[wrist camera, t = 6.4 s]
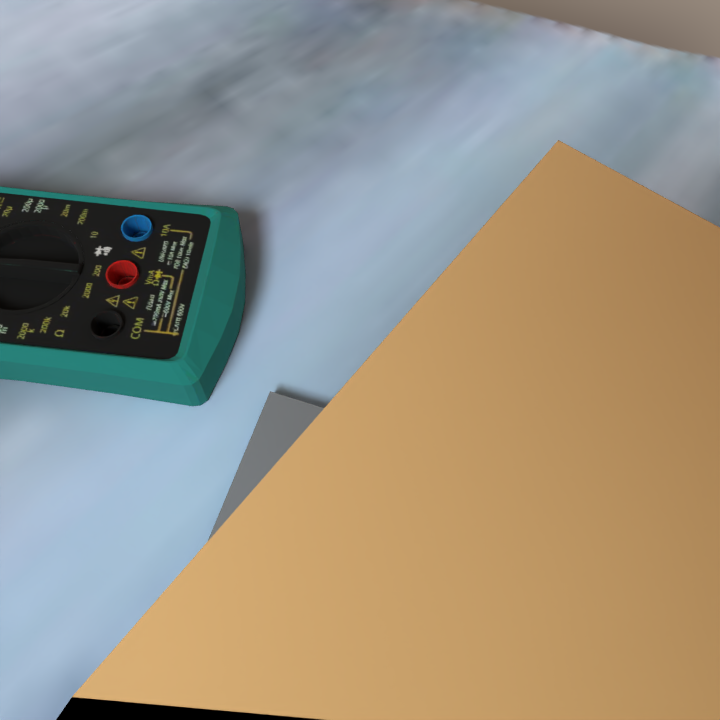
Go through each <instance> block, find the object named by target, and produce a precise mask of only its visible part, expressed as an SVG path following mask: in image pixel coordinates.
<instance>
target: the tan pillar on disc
mask: <svg viewBox="0 0 720 720" xmlns="http://www.w3.org/2000/svg"><path fill="white" fill-rule="evenodd" d="M56 720H720V227H718V226H716V225H714V224H712V223H711V222H709V221H707V220H705V219H703V218H701V217H699V216H698V215H696V214H694V213H692V212H690V211H688V210H686V209H685V208H683V207H681V206H679V205H677V204H675V203H674V202H672V201H670V200H668V199H666V198H664V197H662V196H661V195H659V194H657V193H655V192H653V191H651V190H649V189H648V188H646V187H644V186H642V185H640V184H638V183H637V182H635V181H633V180H631V179H629V178H627V177H625V176H624V175H622V174H620V173H618V172H616V171H614V170H613V169H611V168H609V167H607V166H605V165H603V164H601V163H600V162H598V161H596V160H594V159H592V158H590V157H588V156H587V155H585V154H583V153H581V152H579V151H577V150H576V149H574V148H572V147H570V146H568V145H566V144H564V143H563V142H561V141H559V140H558V141H557V142H556V144H555V145H554V146H553V147H552V148H551V149H550V150H549V152H548V153H547V154H546V155H545V156H544V157H543V158H542V160H541V161H540V162H539V163H538V164H537V165H536V166H535V168H534V169H533V170H532V171H531V172H530V173H529V174H528V176H527V177H526V178H525V179H524V180H523V181H522V182H521V184H520V185H519V186H518V187H517V188H516V189H515V190H514V192H513V193H512V194H511V195H510V196H509V197H508V198H507V200H506V201H505V202H504V203H503V204H502V205H501V207H500V208H499V209H498V210H497V211H496V212H495V213H494V215H493V216H492V217H491V218H490V219H489V220H488V221H487V223H486V224H485V225H484V226H483V227H482V228H481V229H480V231H479V232H478V233H477V234H476V235H475V236H474V237H473V239H472V240H471V241H470V242H469V243H468V244H467V245H466V247H465V248H464V249H463V250H462V251H461V252H460V253H459V255H458V256H457V257H456V258H455V259H454V260H453V261H452V263H451V264H450V265H449V266H448V267H447V268H446V269H445V271H444V272H443V273H442V274H441V275H440V276H439V277H438V279H437V280H436V281H435V282H434V283H433V284H432V286H431V287H430V288H429V289H428V290H427V291H426V292H425V294H424V295H423V296H422V297H421V298H420V299H419V300H418V302H417V303H416V304H415V305H414V306H413V307H412V308H411V310H410V311H409V312H408V313H407V314H406V315H405V316H404V318H403V319H402V320H401V321H400V322H399V323H398V324H397V326H396V327H395V328H394V329H393V330H392V331H391V332H390V334H389V335H388V336H387V337H386V338H385V339H384V340H383V342H382V343H381V344H380V345H379V346H378V347H377V348H376V350H375V351H374V352H373V353H372V354H371V355H370V356H369V358H368V359H367V360H366V361H365V362H364V363H363V365H362V366H361V367H360V368H359V369H358V370H357V371H356V373H355V374H354V375H353V376H352V377H351V378H350V379H349V381H348V382H347V383H346V384H345V385H344V386H343V387H342V389H341V390H340V391H339V392H338V393H337V394H336V395H335V397H334V398H333V399H332V400H331V401H330V402H329V403H328V405H327V406H326V407H325V408H324V409H323V410H322V411H321V413H320V414H319V415H318V416H317V417H316V418H315V419H314V421H313V422H312V423H311V424H310V425H309V426H308V427H307V429H306V430H305V431H304V432H303V433H302V434H301V435H300V437H299V438H298V439H297V440H296V441H295V442H294V444H293V445H292V446H291V447H290V448H289V449H288V450H287V452H286V453H285V454H284V455H283V456H282V457H281V458H280V460H279V461H278V462H277V463H276V464H275V465H274V466H273V468H272V469H271V470H270V471H269V472H268V473H267V474H266V476H265V477H264V478H263V479H262V480H261V481H260V482H259V484H258V485H257V486H256V487H255V488H254V489H253V490H252V492H251V493H250V494H249V495H248V496H247V497H246V498H245V500H244V501H243V502H242V503H241V504H240V505H239V506H238V508H237V509H236V510H235V511H234V512H233V513H232V515H231V516H230V517H229V518H228V519H227V520H226V521H225V523H224V524H223V525H222V526H221V527H220V528H219V529H218V531H217V532H216V533H215V534H214V535H213V536H212V537H211V539H210V540H209V541H208V542H207V543H206V544H205V545H204V547H203V548H202V549H201V550H200V551H199V552H198V553H197V555H196V556H195V557H194V558H193V559H192V560H191V561H190V563H189V564H188V565H187V566H186V567H185V568H184V569H183V571H182V572H181V573H180V574H179V575H178V576H177V577H176V579H175V580H174V581H173V582H172V583H171V584H170V585H169V587H168V588H167V589H166V590H165V591H164V592H163V594H162V595H161V596H160V597H159V598H158V599H157V600H156V602H155V603H154V604H153V605H152V606H151V607H150V608H149V610H148V611H147V612H146V613H145V614H144V615H143V616H142V618H141V619H140V620H139V621H138V622H137V623H136V624H135V626H134V627H133V628H132V629H131V630H130V631H129V632H128V634H127V635H126V636H125V637H124V638H123V639H122V640H121V642H120V643H119V644H118V645H117V646H116V647H115V648H114V650H113V651H112V652H111V653H110V654H109V655H108V656H107V658H106V659H105V660H104V661H103V662H102V663H101V664H100V666H99V667H98V668H97V669H96V670H95V671H94V673H93V674H92V675H91V676H90V677H89V678H88V679H87V681H86V682H85V683H84V684H83V685H82V686H81V687H80V689H79V690H78V691H77V692H76V693H75V694H74V695H73V697H72V698H71V699H70V701H69V702H68V704H67V705H66V706H65V708H64V709H63V711H62V712H61V714H60V715H59V717H58V718H57V719H56Z"/></svg>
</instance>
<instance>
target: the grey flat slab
mask: <svg viewBox="0 0 720 720" xmlns="http://www.w3.org/2000/svg"><path fill="white" fill-rule="evenodd" d="M323 409H324V408H323V407H319V406H316V405H313V404H310V403H306V402H303V401H300V400H297V399H293V398H290V397H287V396H284V395H280V394H277V393H274V392H271V391H270V393H269V396H268V398H267V400H266V403H265V405H264V408H263V410H262V412H261V415H260V417H259V420H258V422H257V424H256V427H255V429H254V432H253V434H252V436H251V439H250V441H249V444H248V446H247V448H246V451H245V453H244V456H243V458H242V460H241V463H240V465H239V467H238V470H237V472H236V475H235V477H234V479H233V482H232V484H231V487H230V489H229V491H228V494H227V496H226V499H225V501H224V503H223V506H222V508H221V511H220V513H219V515H218V518H217V520H216V523H215V525H214V527H213V530H212V532H211V535H210V537H209V539H208V541H209V540H210V539H211V537H212V536H213V535H214V534H215V533H216V532H217V531H218V529H219V528H220V527H221V526H222V525H223V524H224V523H225V521H226V520H227V519H228V518H229V517H230V516H231V515H232V513H233V512H234V511H235V510H236V509H237V508H238V506H239V505H240V504H241V503H242V502H243V501H244V500H245V498H246V497H247V496H248V495H249V494H250V493H251V492H252V490H253V489H254V488H255V487H256V486H257V485H258V484H259V482H260V481H261V480H262V479H263V478H264V477H265V476H266V474H267V473H268V472H269V471H270V470H271V469H272V468H273V466H274V465H275V464H276V463H277V462H278V461H279V460H280V458H281V457H282V456H283V455H284V454H285V453H286V452H287V450H288V449H289V448H290V447H291V446H292V445H293V444H294V442H295V441H296V440H297V439H298V438H299V437H300V435H301V434H302V433H303V432H304V431H305V430H306V429H307V427H308V426H309V425H310V424H311V423H312V422H313V421H314V419H315V418H316V417H317V416H318V415H319V414H320V413H321V411H322V410H323Z"/></svg>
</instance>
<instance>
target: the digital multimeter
mask: <svg viewBox="0 0 720 720" xmlns="http://www.w3.org/2000/svg"><path fill="white" fill-rule="evenodd" d="M22 221H24V222H22ZM18 222H19V223H18ZM14 223H15V224H14ZM11 224H12V225H11ZM8 225H9V226H8ZM3 227H4V228H3ZM1 228H2V229H1ZM69 230H70V231H69ZM77 238H78V239H77ZM81 245H82V246H81ZM83 253H84V255H83ZM83 262H84V264H83ZM245 279H246V273H245V261H244V248H243V240H242V234H241V229H240V223H239V218H238V213H237V212H236V211H235V210H234V209H233V208H230V207H226V206H210V205H193V204H177V203H160V202H146V201H135V200H125V199H115V198H104V197H94V196H83V195H73V194H62V193H53V192H44V191H35V190H27V189H18V188H9V187H0V379H9V380H19V381H27V382H35V383H42V384H49V385H56V386H64V387H71V388H78V389H85V390H93V391H100V392H107V393H114V394H121V395H127V396H133V397H139V398H145V399H152V400H158V401H164V402H170V403H176V404H183V405H189V406H198V405H202V404H203V403H205V402H206V401H207V400H208V399H209V397H210V395H211V393H212V391H213V389H214V387H215V385H216V383H217V381H218V379H219V377H220V375H221V373H222V371H223V369H224V367H225V365H226V363H227V361H228V358H229V356H230V353H231V351H232V348H233V346H234V343H235V341H236V338H237V336H238V333H239V329H240V324H241V320H242V315H243V310H244V305H245ZM4 342H9V343H4ZM13 343H18V344H13ZM22 344H27V345H22ZM31 345H36V346H31ZM41 346H46V347H41ZM50 347H55V348H50ZM59 348H64V349H59ZM68 349H73V350H68ZM77 350H82V351H77ZM87 351H91V352H87ZM96 352H101V353H96ZM105 353H107V354H105ZM133 356H137V357H133ZM143 357H146V358H143ZM152 358H156V359H152Z"/></svg>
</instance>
